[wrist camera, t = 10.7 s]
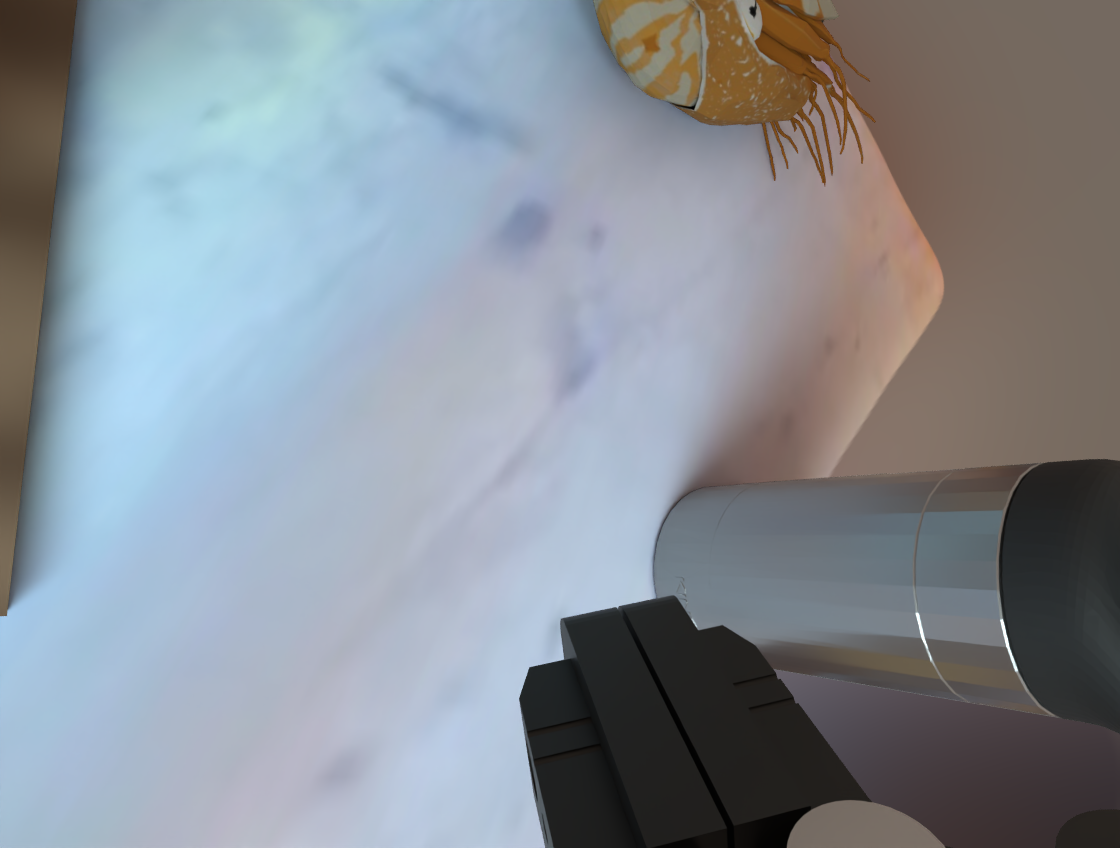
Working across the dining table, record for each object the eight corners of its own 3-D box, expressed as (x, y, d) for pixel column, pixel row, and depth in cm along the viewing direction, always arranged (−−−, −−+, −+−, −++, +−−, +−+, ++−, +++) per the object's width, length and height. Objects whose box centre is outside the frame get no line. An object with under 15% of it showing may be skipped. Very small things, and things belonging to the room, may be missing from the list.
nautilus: (823, 135, 55) (745, 292, 49) (636, -149, 45) (511, 7, 39) (934, 92, 48) (859, 267, 43) (744, -250, 38) (614, -81, 33)
